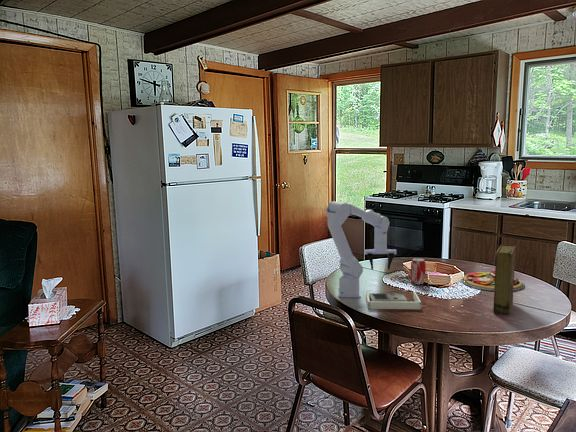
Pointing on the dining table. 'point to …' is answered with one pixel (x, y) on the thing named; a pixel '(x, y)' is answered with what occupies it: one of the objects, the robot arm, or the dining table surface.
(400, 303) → the white tray
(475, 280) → the toy pizza
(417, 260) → the soda can
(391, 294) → the handheld gaming device
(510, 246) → the book
